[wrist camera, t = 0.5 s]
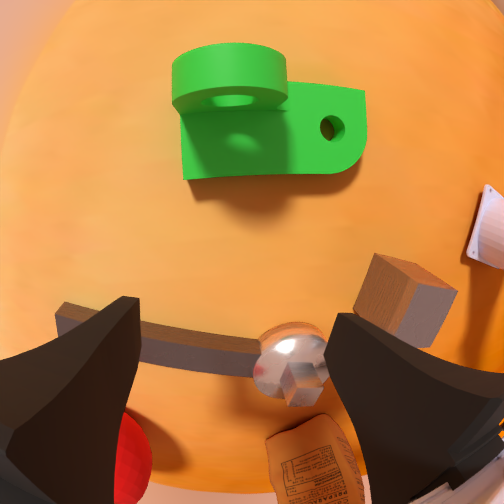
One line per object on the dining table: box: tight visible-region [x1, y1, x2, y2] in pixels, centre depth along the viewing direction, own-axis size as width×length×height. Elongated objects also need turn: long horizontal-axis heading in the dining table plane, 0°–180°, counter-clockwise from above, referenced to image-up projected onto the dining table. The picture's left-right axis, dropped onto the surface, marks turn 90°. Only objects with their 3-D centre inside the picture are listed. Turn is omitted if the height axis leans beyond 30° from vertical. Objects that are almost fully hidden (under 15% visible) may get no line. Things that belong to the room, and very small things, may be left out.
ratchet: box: [55, 302, 330, 407], centre depth 19 cm, size 24×7×5 cm, turn 76°
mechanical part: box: [172, 43, 367, 180], centre depth 14 cm, size 12×6×8 cm, turn 92°
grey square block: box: [353, 253, 458, 348], centre depth 20 cm, size 5×5×6 cm
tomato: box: [114, 412, 152, 504], centre depth 18 cm, size 12×12×13 cm
